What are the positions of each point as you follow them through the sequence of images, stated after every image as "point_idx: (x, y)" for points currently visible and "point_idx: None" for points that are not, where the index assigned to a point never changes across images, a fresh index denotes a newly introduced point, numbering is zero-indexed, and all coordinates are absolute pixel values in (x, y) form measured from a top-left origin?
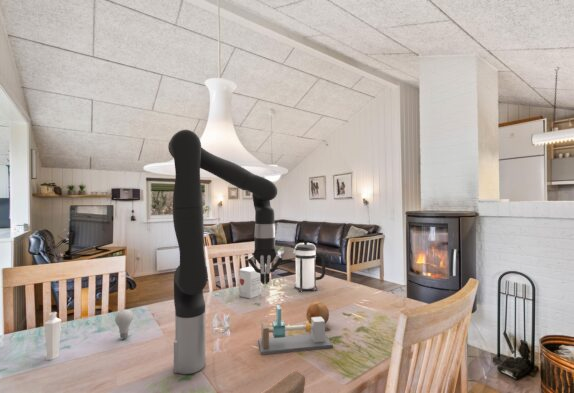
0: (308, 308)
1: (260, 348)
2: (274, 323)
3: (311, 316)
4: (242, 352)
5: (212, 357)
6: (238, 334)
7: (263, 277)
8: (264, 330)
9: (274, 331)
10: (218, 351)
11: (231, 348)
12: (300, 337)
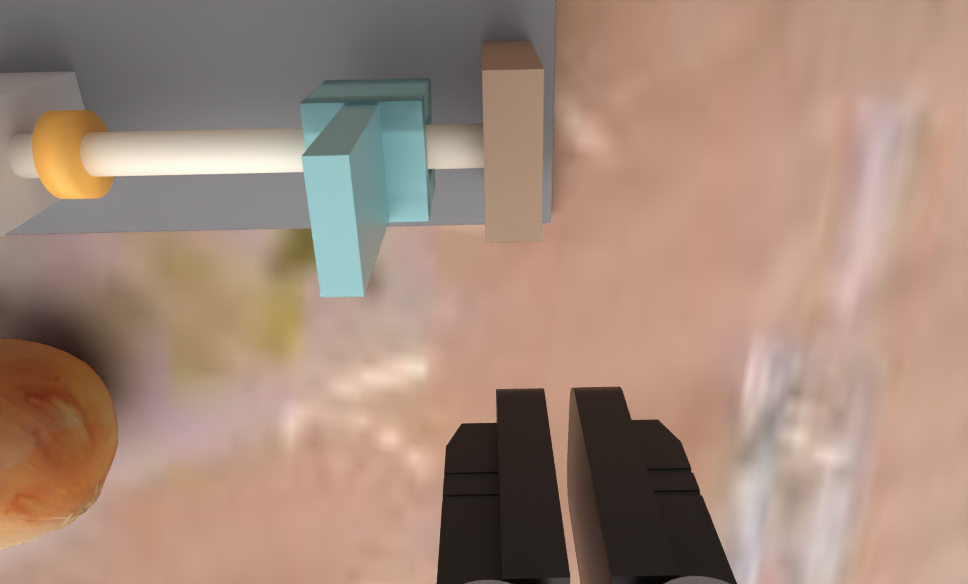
0: (55, 480)
1: (554, 45)
2: (411, 173)
3: (51, 391)
4: (698, 51)
5: (945, 11)
6: (688, 342)
7: (633, 494)
8: (529, 64)
9: (421, 90)
10: (881, 102)
11: (774, 133)
12: (197, 182)
